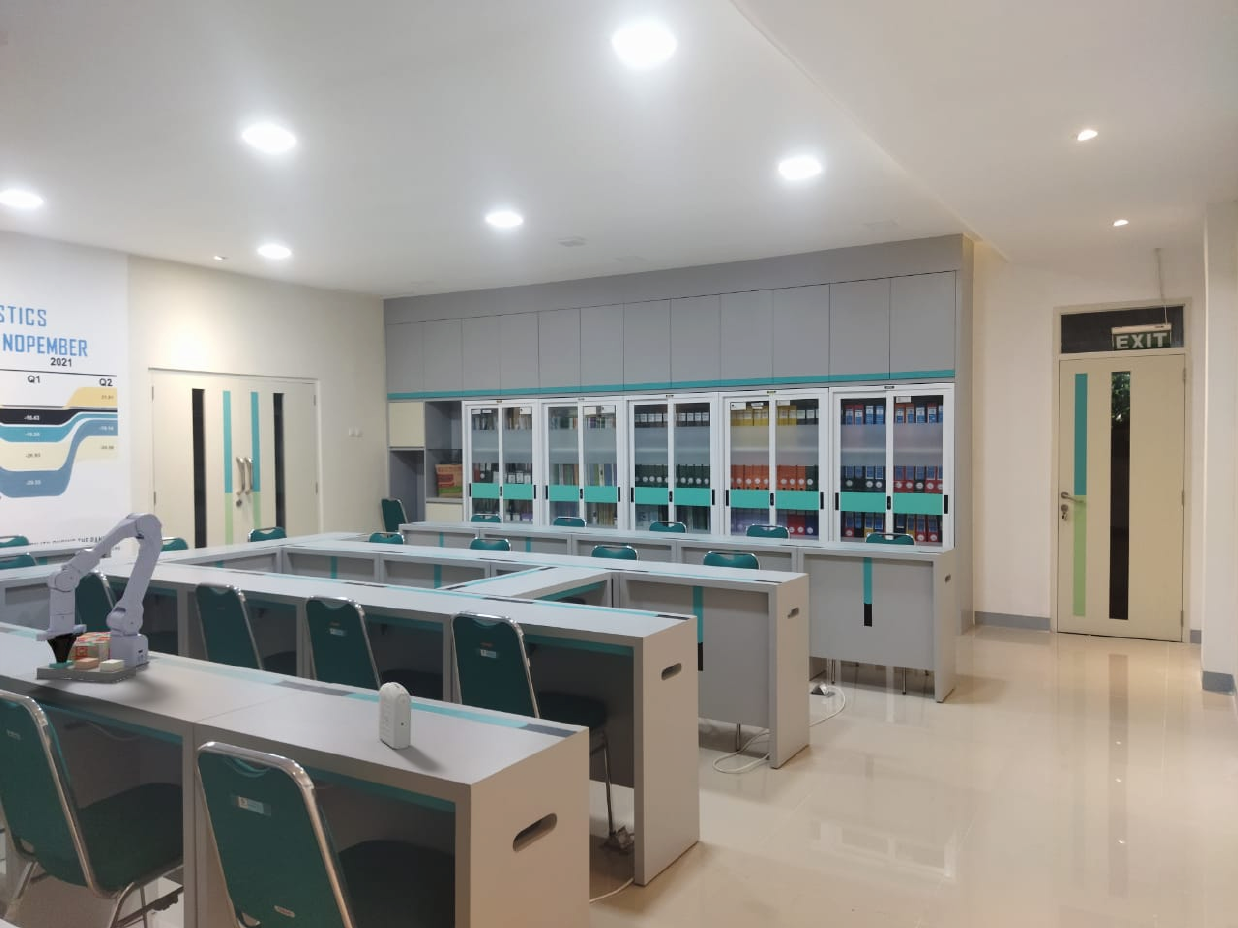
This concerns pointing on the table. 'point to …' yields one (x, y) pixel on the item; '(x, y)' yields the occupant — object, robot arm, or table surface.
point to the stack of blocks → (91, 647)
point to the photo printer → (395, 715)
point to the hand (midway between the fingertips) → (61, 662)
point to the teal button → (61, 664)
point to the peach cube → (86, 663)
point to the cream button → (111, 665)
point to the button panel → (86, 673)
